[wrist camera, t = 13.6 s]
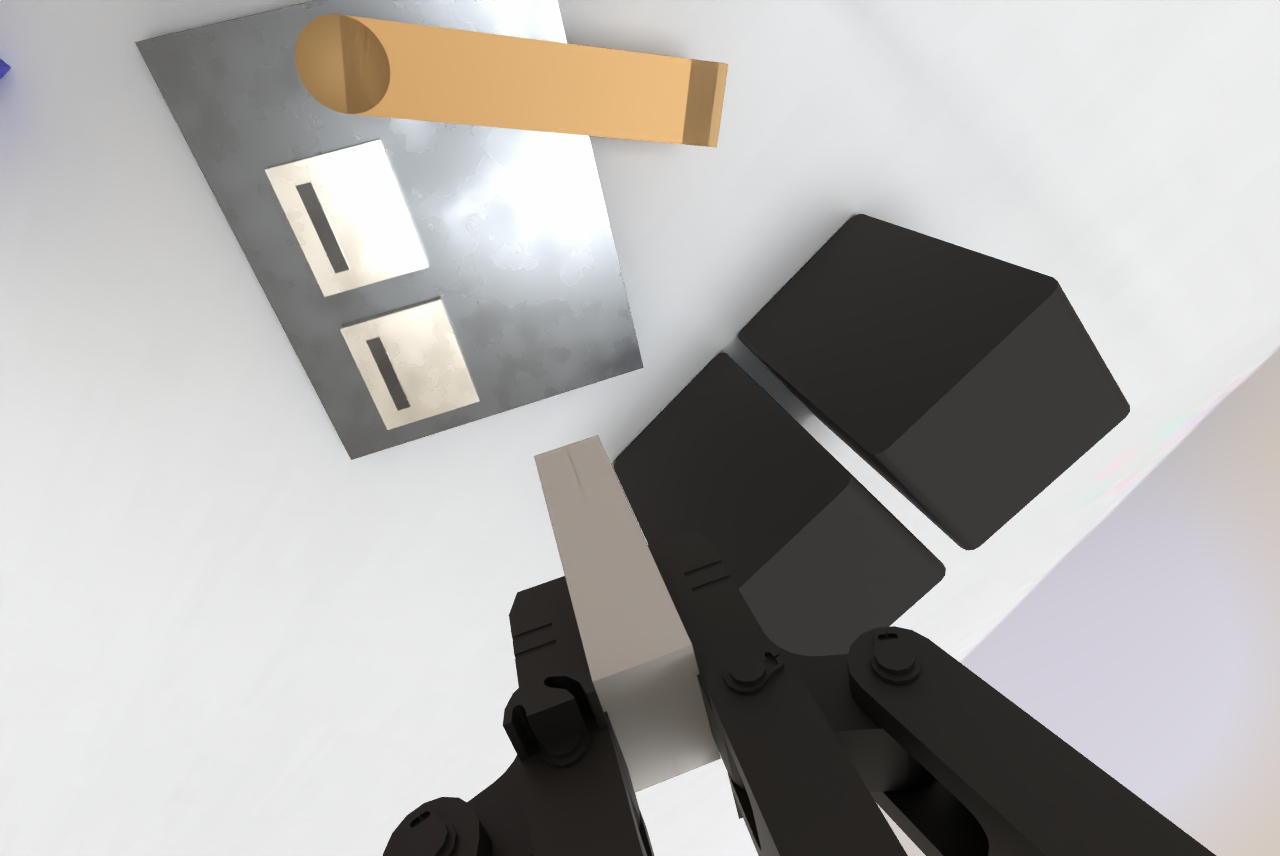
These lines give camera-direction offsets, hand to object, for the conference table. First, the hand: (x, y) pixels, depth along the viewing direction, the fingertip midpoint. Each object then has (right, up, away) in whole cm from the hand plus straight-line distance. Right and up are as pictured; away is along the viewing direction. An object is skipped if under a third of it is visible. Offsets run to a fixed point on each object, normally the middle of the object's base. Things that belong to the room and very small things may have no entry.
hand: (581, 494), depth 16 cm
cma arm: (-5, +20, +20) cm, 29 cm away
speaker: (+11, +5, +37) cm, 39 cm away
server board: (-11, +13, +25) cm, 31 cm away
